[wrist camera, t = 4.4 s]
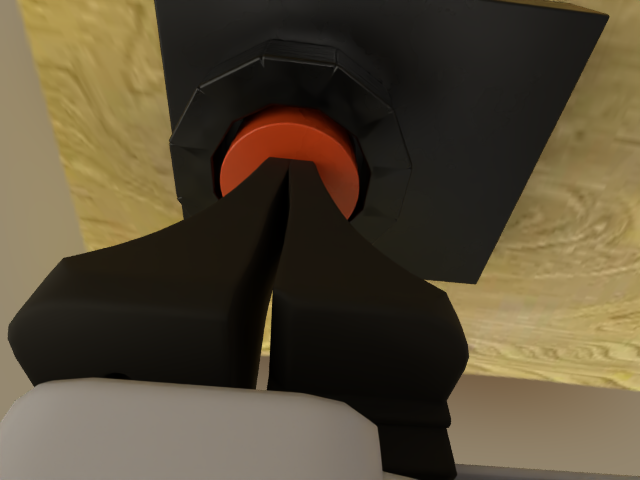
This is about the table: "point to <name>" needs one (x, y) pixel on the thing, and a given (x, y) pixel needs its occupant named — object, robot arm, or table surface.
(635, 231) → the table surface
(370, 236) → the box
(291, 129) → the button
